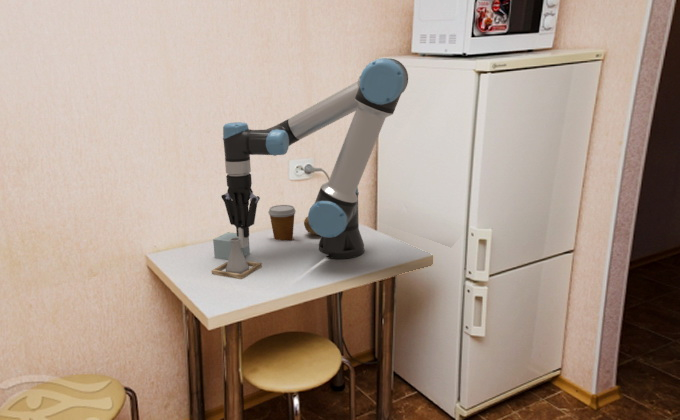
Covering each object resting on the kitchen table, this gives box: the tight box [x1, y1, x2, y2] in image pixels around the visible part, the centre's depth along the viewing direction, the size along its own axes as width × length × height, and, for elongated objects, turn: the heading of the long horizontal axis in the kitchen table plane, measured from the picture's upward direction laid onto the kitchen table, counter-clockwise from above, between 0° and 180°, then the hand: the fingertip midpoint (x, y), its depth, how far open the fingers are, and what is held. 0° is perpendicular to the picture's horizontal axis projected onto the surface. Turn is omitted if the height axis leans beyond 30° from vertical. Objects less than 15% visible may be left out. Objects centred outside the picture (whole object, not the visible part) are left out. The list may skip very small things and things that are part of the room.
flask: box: [225, 237, 250, 274], centre depth 168 cm, size 7×7×10 cm
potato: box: [303, 216, 319, 236], centre depth 206 cm, size 10×14×8 cm
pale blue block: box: [212, 231, 251, 261], centre depth 182 cm, size 8×8×6 cm
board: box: [211, 260, 263, 280], centre depth 175 cm, size 18×20×4 cm
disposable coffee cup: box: [267, 204, 296, 242], centre depth 199 cm, size 10×10×12 cm
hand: (243, 246), depth 180 cm, fingers closed
